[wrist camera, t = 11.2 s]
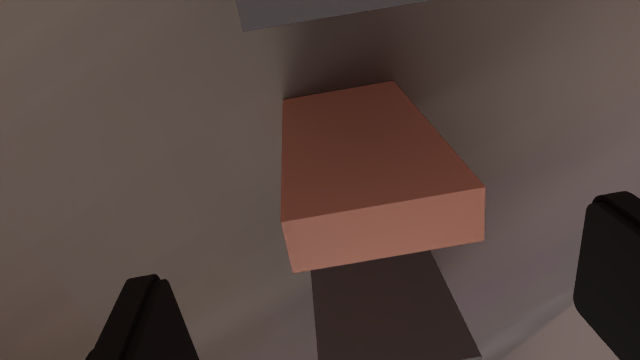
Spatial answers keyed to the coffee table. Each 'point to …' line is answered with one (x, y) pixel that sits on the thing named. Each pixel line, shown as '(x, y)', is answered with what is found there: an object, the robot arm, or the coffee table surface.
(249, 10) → the domino
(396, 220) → the domino
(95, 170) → the coffee table surface
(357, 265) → the domino
